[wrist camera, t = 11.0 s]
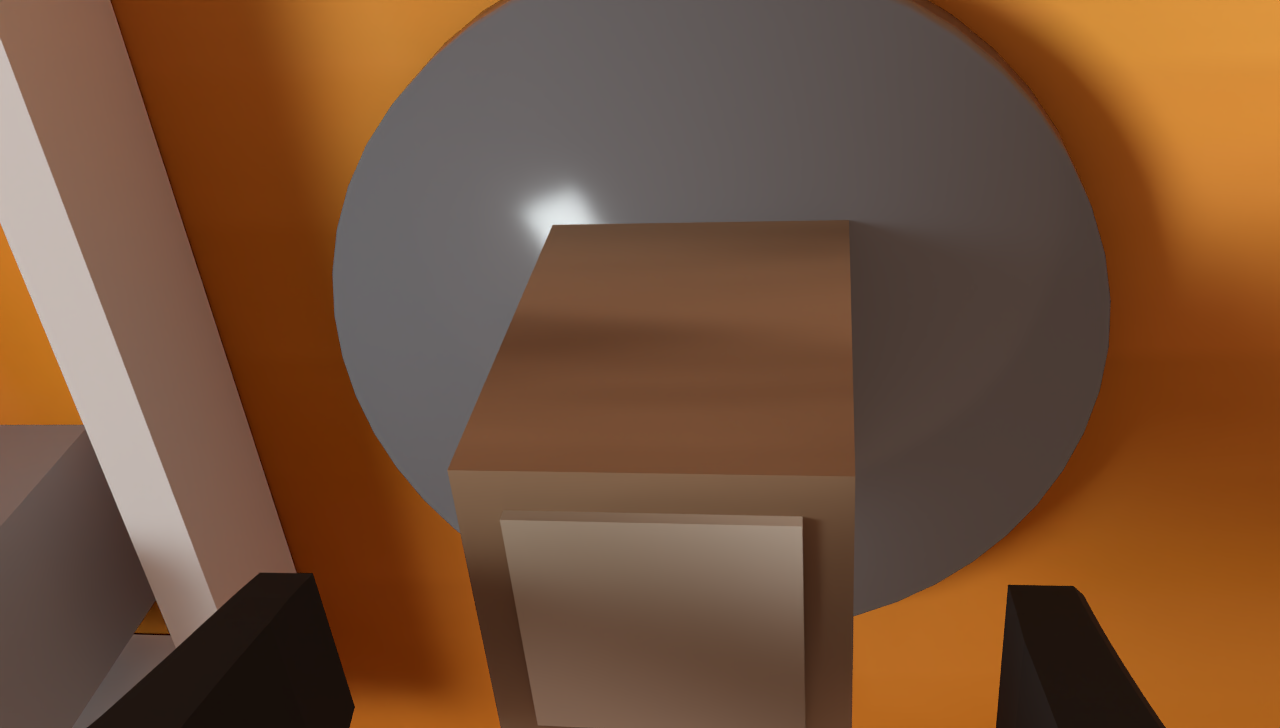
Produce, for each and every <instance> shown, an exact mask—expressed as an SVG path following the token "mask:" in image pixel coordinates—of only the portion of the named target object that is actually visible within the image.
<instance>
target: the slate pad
mask: <svg viewBox="0 0 1280 728" xmlns="http://www.w3.org/2000/svg"><path fill="white" fill-rule="evenodd" d="M818 220H849V240H850V280H851V321H852V361H853V402H854V442H855V534H854V602H853V616H856V615H859V614H862V613H865V612H868V611H871V610H874V609H877V608H880V607H883V606H886V605H889V604H892V603H895V602H898V601H900V600H902V599H904V598H906V597H909V596H911V595H913V594H915V593H917V592H919V591H922V590H924V589H926V588H928V587H930V586H933V585H935V584H937V583H938V582H940V581H942V580H943V579H945V578H947V577H948V576H950V575H952V574H953V573H955V572H957V571H958V570H960V569H962V568H963V567H965V566H966V565H968V564H970V563H971V562H973V561H974V560H976V559H977V558H978V557H979V556H981V555H982V554H983V553H985V552H986V551H987V550H988V549H990V548H991V547H992V546H994V545H995V544H996V543H997V542H999V541H1000V540H1001V539H1002V538H1004V537H1005V536H1006V535H1007V534H1008V533H1009V532H1010V531H1011V530H1012V529H1013V528H1014V527H1015V526H1016V525H1017V524H1018V523H1019V522H1020V521H1021V520H1022V519H1023V518H1024V517H1025V516H1026V515H1027V514H1028V513H1029V512H1030V511H1031V510H1032V509H1033V508H1034V507H1035V506H1036V505H1037V504H1038V503H1039V501H1040V500H1041V499H1042V497H1043V496H1044V495H1045V493H1046V492H1047V491H1048V489H1049V488H1050V487H1051V485H1052V484H1053V483H1054V481H1055V480H1056V479H1057V478H1058V476H1059V475H1060V474H1061V472H1062V471H1063V469H1064V468H1065V466H1066V464H1067V462H1068V460H1069V458H1070V457H1071V455H1072V453H1073V451H1074V449H1075V448H1076V446H1077V444H1078V442H1079V440H1080V439H1081V437H1082V435H1083V433H1084V431H1085V428H1086V426H1087V423H1088V420H1089V418H1090V415H1091V412H1092V410H1093V407H1094V404H1095V402H1096V399H1097V396H1098V394H1099V391H1100V386H1101V381H1102V376H1103V371H1104V367H1105V362H1106V357H1107V352H1108V347H1109V325H1110V303H1111V301H1110V292H1109V284H1108V275H1107V266H1106V258H1105V252H1104V249H1103V245H1102V242H1101V238H1100V235H1099V231H1098V228H1097V224H1096V221H1095V217H1094V214H1093V210H1092V207H1091V204H1090V202H1089V199H1088V197H1087V195H1086V192H1085V190H1084V187H1083V185H1082V182H1081V180H1080V177H1079V175H1078V173H1077V171H1076V168H1075V166H1074V164H1073V162H1072V160H1071V158H1070V155H1069V153H1068V151H1067V149H1066V147H1065V145H1064V143H1063V140H1062V138H1061V136H1060V134H1059V132H1058V130H1057V128H1056V127H1055V125H1054V124H1053V122H1052V121H1051V119H1050V118H1049V116H1048V115H1047V113H1046V112H1045V110H1044V109H1043V107H1042V106H1041V104H1040V103H1039V101H1038V100H1037V98H1036V97H1035V95H1034V94H1033V92H1032V91H1031V90H1030V88H1029V87H1028V86H1027V85H1026V84H1025V83H1024V82H1023V80H1022V79H1021V78H1020V77H1019V76H1018V75H1017V74H1016V73H1015V72H1014V71H1013V69H1012V68H1011V67H1010V66H1009V65H1008V64H1007V63H1006V62H1005V61H1004V60H1003V58H1002V57H1001V56H1000V55H999V54H998V53H997V52H996V51H995V50H994V49H993V48H992V47H991V46H989V45H988V44H987V43H986V42H985V41H983V40H982V39H981V38H980V37H978V36H977V35H976V34H975V33H974V32H972V31H971V30H970V29H969V28H967V27H966V26H965V25H964V24H963V23H961V22H960V21H959V20H958V19H957V18H955V17H954V16H953V15H951V14H950V13H948V12H946V11H945V10H943V9H941V8H940V7H938V6H936V5H935V4H933V3H932V2H930V1H928V0H500V1H498V2H497V3H495V4H494V5H492V6H490V7H489V8H487V9H485V10H484V11H482V12H481V13H480V14H479V15H478V16H476V17H475V18H474V19H473V20H472V21H470V22H469V23H468V24H467V25H466V26H465V27H463V28H462V29H461V30H460V31H459V32H457V33H456V34H455V35H454V36H453V37H452V38H450V39H449V40H448V41H447V42H446V43H445V44H444V45H443V46H442V47H441V48H440V49H439V50H438V52H437V53H436V54H435V55H434V56H433V57H432V58H431V59H430V61H429V62H428V63H427V64H426V65H425V66H424V67H423V69H422V70H421V71H420V72H419V73H418V74H417V75H416V77H415V78H414V79H413V80H412V81H411V82H410V84H409V85H408V86H407V87H406V88H405V90H404V91H403V92H402V93H401V95H400V96H399V97H398V98H397V99H396V101H395V102H394V103H393V104H392V106H391V107H390V109H389V110H388V112H387V113H386V115H385V116H384V118H383V120H382V121H381V123H380V124H379V126H378V127H377V129H376V131H375V132H374V134H373V135H372V137H371V138H370V140H369V142H368V143H367V145H366V147H365V149H364V152H363V154H362V156H361V158H360V161H359V163H358V165H357V168H356V170H355V172H354V174H353V177H352V179H351V181H350V184H349V186H348V189H347V193H346V197H345V201H344V204H343V208H342V212H341V216H340V220H339V224H338V227H337V234H336V243H335V253H334V263H333V272H332V273H333V295H334V315H335V321H336V326H337V331H338V336H339V341H340V347H341V352H342V357H343V360H344V363H345V365H346V368H347V371H348V374H349V377H350V380H351V383H352V386H353V389H354V392H355V395H356V397H357V399H358V401H359V403H360V405H361V407H362V409H363V411H364V413H365V415H366V418H367V420H368V422H369V424H370V426H371V428H372V430H373V432H374V434H375V435H376V437H377V438H378V440H379V441H380V443H381V444H382V446H383V447H384V449H385V450H386V452H387V453H388V455H389V456H390V458H391V459H392V461H393V462H394V464H395V466H396V467H397V468H398V470H399V471H400V472H401V473H402V474H403V476H404V477H405V478H406V479H407V480H408V481H409V483H410V484H411V485H412V486H413V487H414V489H415V490H416V491H417V492H418V493H419V495H420V496H421V497H422V498H423V499H424V500H425V501H426V502H427V503H428V504H429V505H430V506H431V507H432V508H433V509H434V510H435V511H436V512H437V513H438V514H439V515H440V516H441V517H443V518H444V519H445V520H446V521H447V522H448V523H449V524H450V525H451V526H452V527H453V528H454V529H455V530H457V531H458V532H459V533H460V529H459V524H458V519H457V515H456V510H455V505H454V500H453V495H452V491H451V486H450V481H449V476H448V471H447V470H448V467H449V465H450V463H451V460H452V458H453V456H454V453H455V451H456V449H457V446H458V444H459V442H460V439H461V437H462V435H463V432H464V430H465V428H466V425H467V423H468V421H469V418H470V416H471V414H472V411H473V409H474V407H475V404H476V402H477V400H478V397H479V395H480V393H481V390H482V388H483V386H484V383H485V381H486V379H487V376H488V374H489V372H490V369H491V367H492V365H493V362H494V360H495V358H496V355H497V353H498V351H499V348H500V346H501V344H502V342H503V339H504V337H505V335H506V332H507V330H508V328H509V325H510V323H511V321H512V318H513V316H514V314H515V311H516V309H517V307H518V304H519V302H520V300H521V297H522V295H523V293H524V290H525V288H526V286H527V283H528V281H529V279H530V276H531V274H532V272H533V269H534V267H535V265H536V262H537V260H538V258H539V255H540V253H541V251H542V248H543V246H544V244H545V241H546V239H547V237H548V234H549V232H550V230H551V227H552V225H571V224H633V223H694V222H756V221H818Z"/></svg>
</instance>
